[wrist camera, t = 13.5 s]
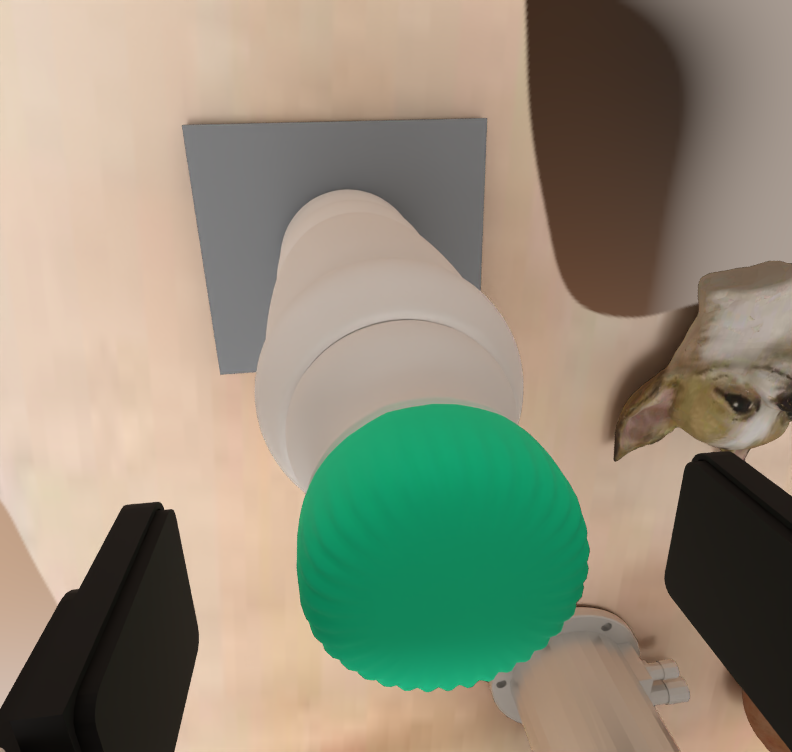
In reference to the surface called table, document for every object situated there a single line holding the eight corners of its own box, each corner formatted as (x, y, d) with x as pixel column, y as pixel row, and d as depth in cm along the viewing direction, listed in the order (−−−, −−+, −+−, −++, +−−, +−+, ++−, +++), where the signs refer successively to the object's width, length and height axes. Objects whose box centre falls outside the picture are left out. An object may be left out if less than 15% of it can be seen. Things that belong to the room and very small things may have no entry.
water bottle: (303, 167, 29) (293, 318, 7) (431, 214, 31) (771, 461, 8) (265, 296, 32) (161, 740, 9) (387, 334, 33) (557, 780, 11)
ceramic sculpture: (955, 297, 29) (806, 531, 35) (821, 251, 36) (719, 450, 43) (772, 263, 27) (649, 518, 33) (671, 222, 34) (587, 435, 41)
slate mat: (480, 118, 31) (487, 118, 30) (472, 348, 36) (477, 355, 35) (186, 125, 29) (181, 124, 28) (223, 366, 34) (220, 374, 33)
